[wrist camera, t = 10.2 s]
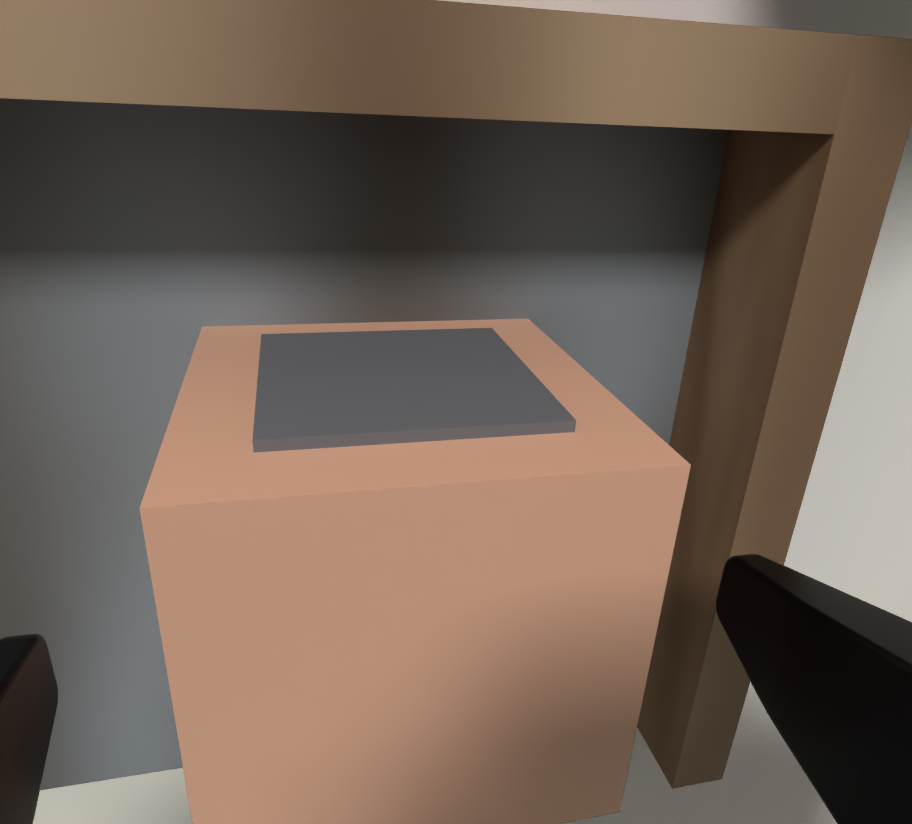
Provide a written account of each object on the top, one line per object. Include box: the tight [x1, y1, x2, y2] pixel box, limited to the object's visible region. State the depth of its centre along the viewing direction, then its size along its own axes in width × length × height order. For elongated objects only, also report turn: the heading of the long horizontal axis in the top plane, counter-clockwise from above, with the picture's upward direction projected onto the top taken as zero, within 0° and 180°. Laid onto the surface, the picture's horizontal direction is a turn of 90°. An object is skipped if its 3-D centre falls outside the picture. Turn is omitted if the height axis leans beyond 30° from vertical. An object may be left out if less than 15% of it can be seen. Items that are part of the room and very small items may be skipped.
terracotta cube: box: [140, 319, 691, 824], centre depth 10 cm, size 6×6×6 cm
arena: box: [0, 0, 912, 790], centre depth 12 cm, size 14×14×3 cm
